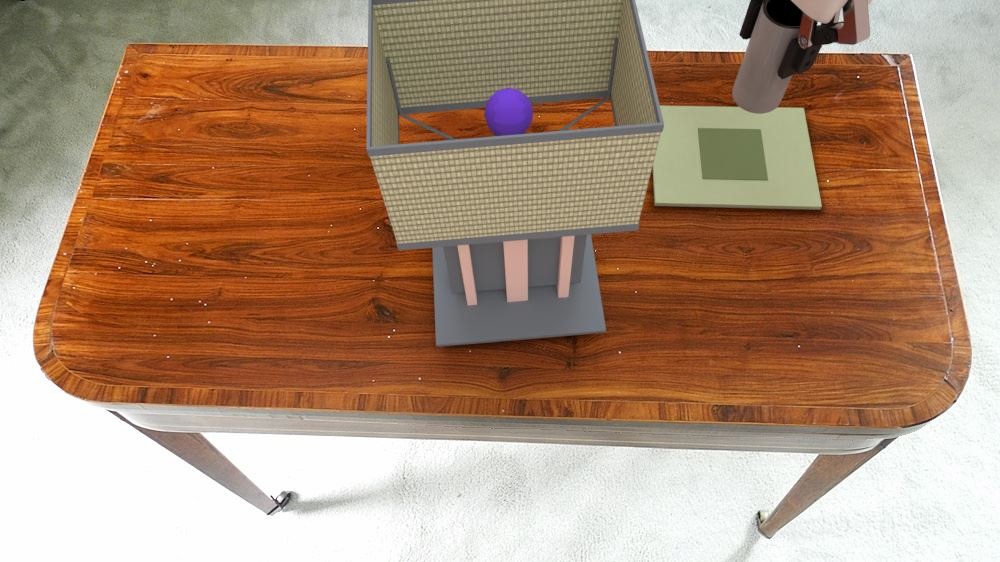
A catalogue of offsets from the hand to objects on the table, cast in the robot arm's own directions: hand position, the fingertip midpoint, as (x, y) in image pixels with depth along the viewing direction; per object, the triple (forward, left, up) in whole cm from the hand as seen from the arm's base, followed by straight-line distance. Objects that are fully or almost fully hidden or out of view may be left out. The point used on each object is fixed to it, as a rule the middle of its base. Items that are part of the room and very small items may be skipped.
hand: (774, 50), depth 63 cm
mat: (-2, -4, -20) cm, 21 cm away
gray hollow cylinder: (0, 0, -6) cm, 6 cm away
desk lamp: (+22, +13, -21) cm, 33 cm away
